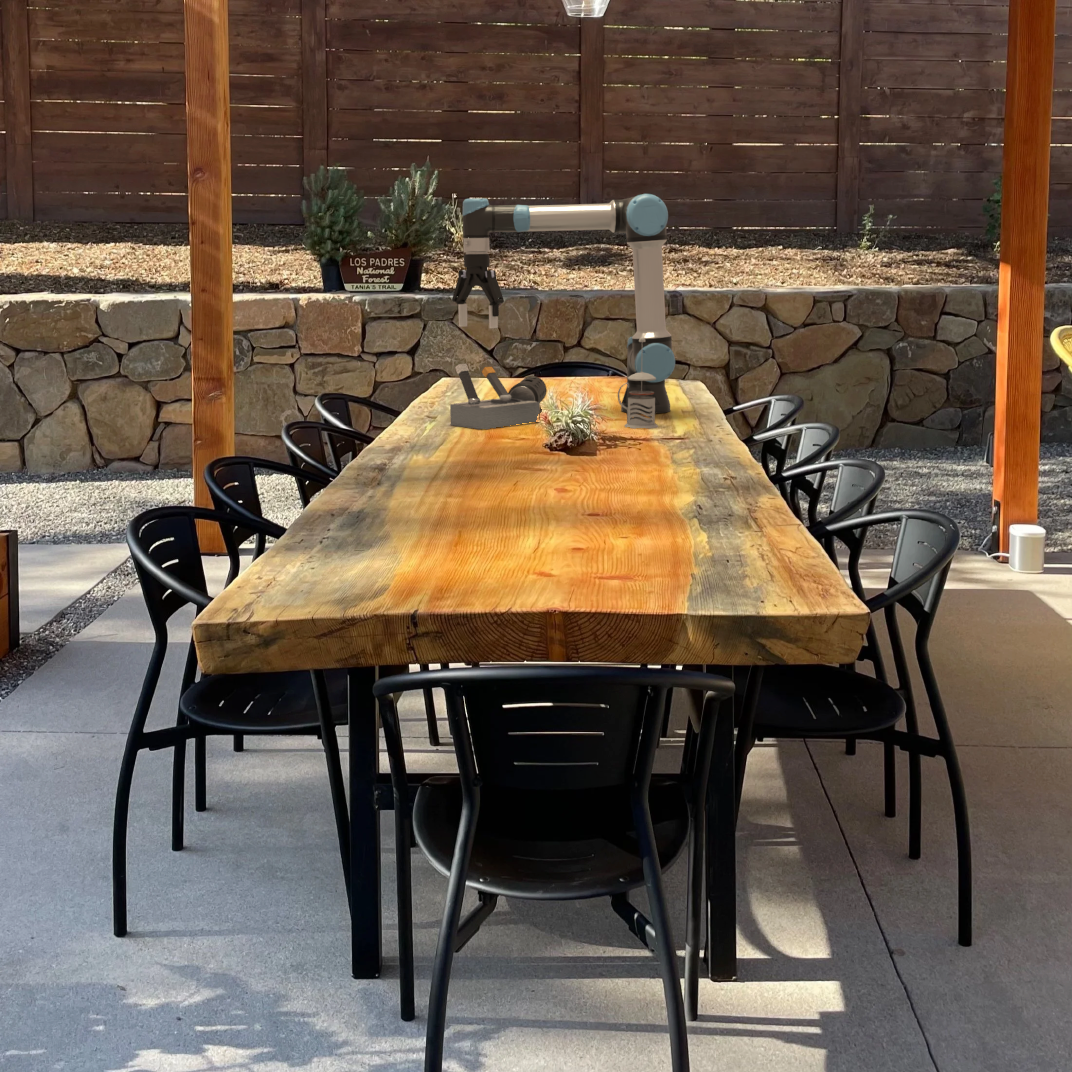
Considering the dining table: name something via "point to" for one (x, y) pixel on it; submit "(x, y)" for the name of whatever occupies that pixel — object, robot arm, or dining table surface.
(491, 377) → the lever
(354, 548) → the dining table surface
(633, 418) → the french press
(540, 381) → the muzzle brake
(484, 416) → the twin lever control box
